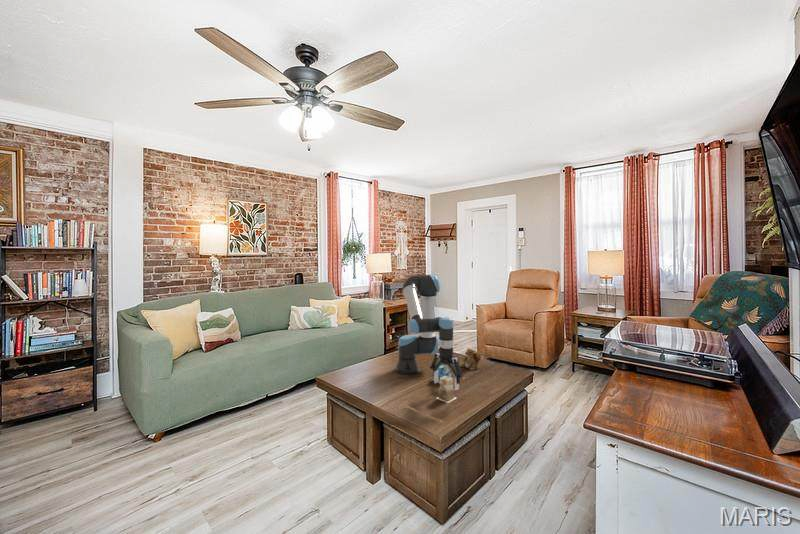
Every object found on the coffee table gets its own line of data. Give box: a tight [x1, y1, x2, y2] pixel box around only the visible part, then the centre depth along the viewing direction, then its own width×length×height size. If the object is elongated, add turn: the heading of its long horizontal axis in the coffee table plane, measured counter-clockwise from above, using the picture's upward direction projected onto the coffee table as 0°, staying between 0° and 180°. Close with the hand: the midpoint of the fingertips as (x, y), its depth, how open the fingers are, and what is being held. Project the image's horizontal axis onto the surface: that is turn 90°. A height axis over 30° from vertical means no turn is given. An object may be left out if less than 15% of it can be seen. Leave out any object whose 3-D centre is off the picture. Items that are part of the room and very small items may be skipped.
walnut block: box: [438, 388, 455, 403], centre depth 179 cm, size 6×6×5 cm
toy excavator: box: [431, 362, 454, 385], centre depth 200 cm, size 9×17×17 cm, turn 28°
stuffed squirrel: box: [459, 347, 483, 371], centre depth 229 cm, size 10×14×13 cm
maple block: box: [439, 376, 454, 392], centre depth 178 cm, size 5×5×6 cm
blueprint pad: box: [436, 396, 457, 404], centre depth 182 cm, size 16×14×1 cm
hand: (446, 385), depth 179 cm, fingers open, 13 cm apart
